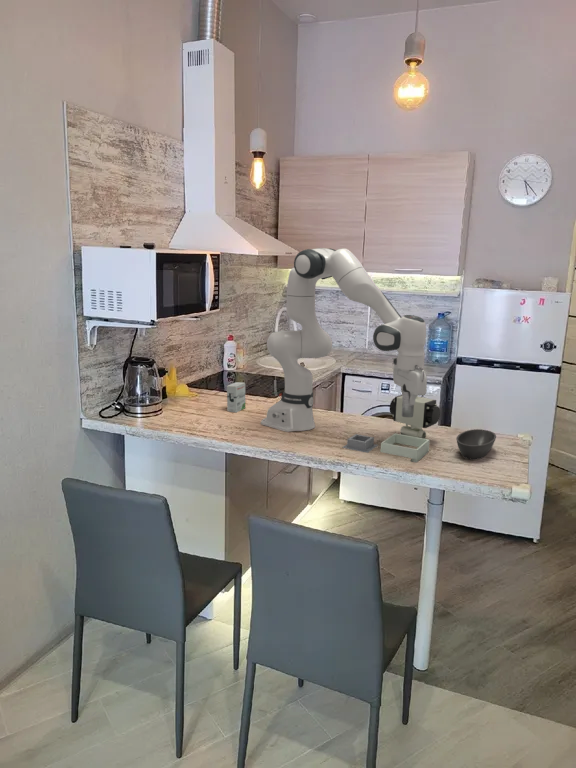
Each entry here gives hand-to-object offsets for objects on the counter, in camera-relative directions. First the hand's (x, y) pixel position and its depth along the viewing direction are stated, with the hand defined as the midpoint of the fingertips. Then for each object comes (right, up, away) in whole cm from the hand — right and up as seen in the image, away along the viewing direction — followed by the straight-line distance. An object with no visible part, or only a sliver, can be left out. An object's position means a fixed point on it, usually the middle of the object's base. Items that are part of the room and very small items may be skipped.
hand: (408, 402), depth 202 cm
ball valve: (+6, -15, +21) cm, 26 cm away
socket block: (-16, -17, +8) cm, 25 cm away
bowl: (+25, -19, +6) cm, 32 cm away
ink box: (-65, -5, +57) cm, 86 cm away
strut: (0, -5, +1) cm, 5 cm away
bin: (0, -18, +4) cm, 19 cm away
